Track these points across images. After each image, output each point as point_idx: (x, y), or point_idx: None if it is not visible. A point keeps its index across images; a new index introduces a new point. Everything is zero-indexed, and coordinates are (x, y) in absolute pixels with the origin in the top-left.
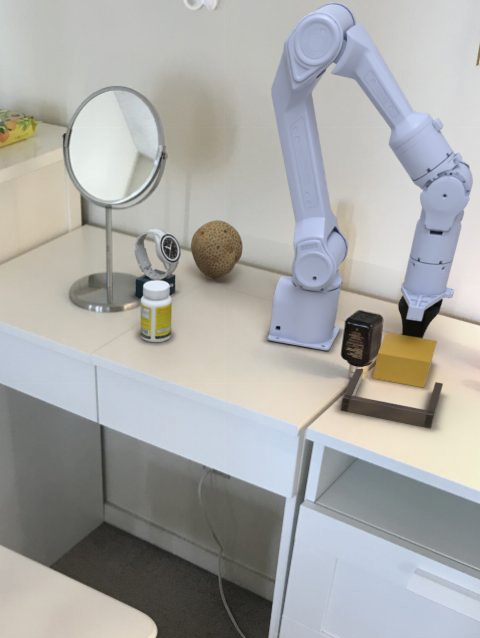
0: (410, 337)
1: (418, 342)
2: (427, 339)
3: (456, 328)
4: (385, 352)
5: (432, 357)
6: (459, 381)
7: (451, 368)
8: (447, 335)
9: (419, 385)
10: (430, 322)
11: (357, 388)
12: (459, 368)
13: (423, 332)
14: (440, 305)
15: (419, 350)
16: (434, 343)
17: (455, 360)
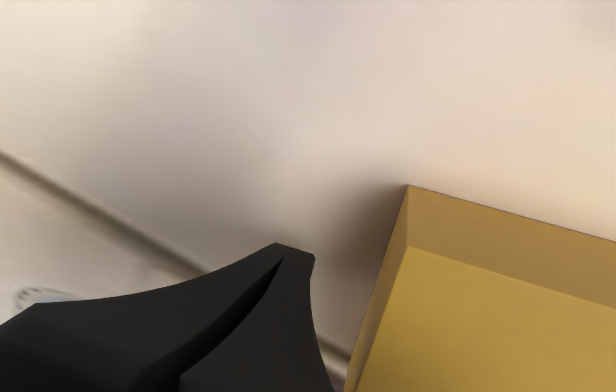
0: (378, 386)
1: (446, 361)
2: (395, 301)
3: (3, 9)
4: None
5: (467, 226)
6: (596, 52)
7: (426, 81)
8: (82, 61)
9: None
10: (322, 365)
11: None
12: (422, 35)
13: (310, 312)
14: (139, 379)
15: (581, 387)
16: (458, 271)
17: (329, 48)
